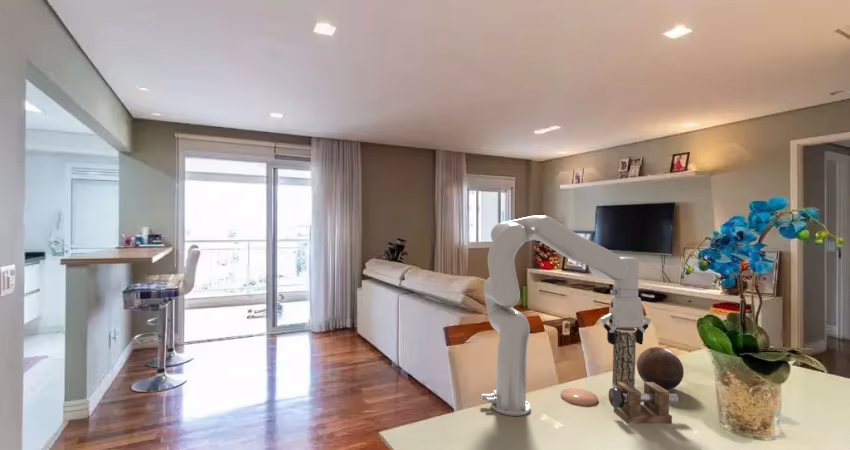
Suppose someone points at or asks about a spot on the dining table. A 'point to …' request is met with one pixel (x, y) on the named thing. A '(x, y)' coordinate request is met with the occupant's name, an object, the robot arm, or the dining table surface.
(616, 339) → the paper tube
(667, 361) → the wooden sphere
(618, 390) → the shaft
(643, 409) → the bearing housing
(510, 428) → the dining table surface
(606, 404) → the dining table surface
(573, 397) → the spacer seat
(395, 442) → the dining table surface
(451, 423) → the dining table surface
